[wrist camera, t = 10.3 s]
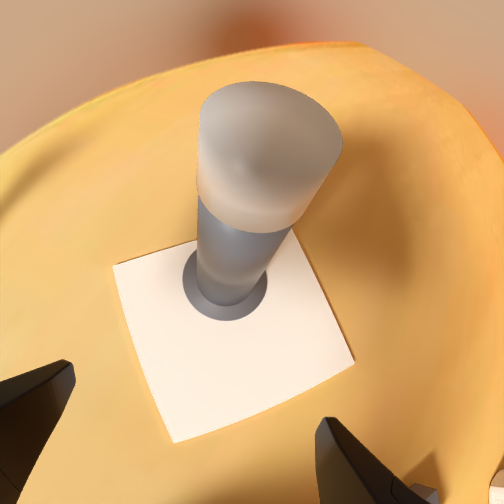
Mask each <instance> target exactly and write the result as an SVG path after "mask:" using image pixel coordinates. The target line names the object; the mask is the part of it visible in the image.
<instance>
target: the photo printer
mask: <svg viewBox="0 0 504 504" xmlns="http://www.w3.org/2000/svg"><path fill="white" fill-rule="evenodd" d="M489 504H504V469H503V470H500V471H499V472H498V473H497V474H496V475H495V477H494V478H493V480H492V482H491V486H490V490H489Z"/></svg>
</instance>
